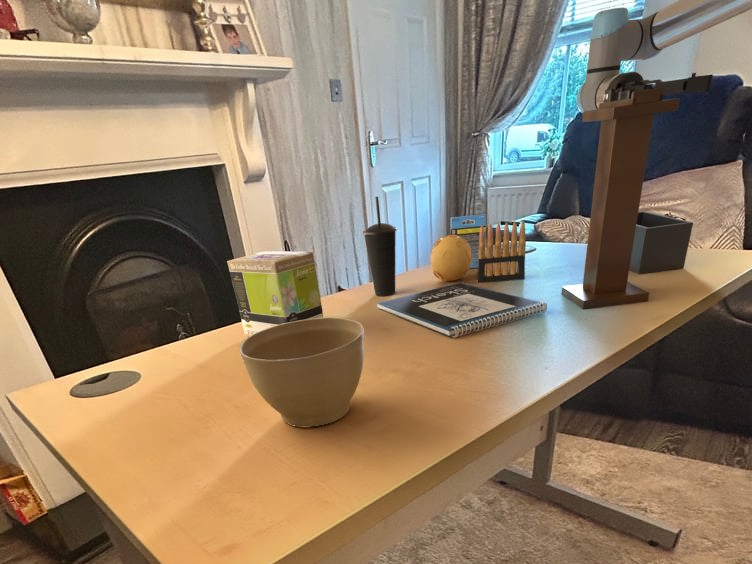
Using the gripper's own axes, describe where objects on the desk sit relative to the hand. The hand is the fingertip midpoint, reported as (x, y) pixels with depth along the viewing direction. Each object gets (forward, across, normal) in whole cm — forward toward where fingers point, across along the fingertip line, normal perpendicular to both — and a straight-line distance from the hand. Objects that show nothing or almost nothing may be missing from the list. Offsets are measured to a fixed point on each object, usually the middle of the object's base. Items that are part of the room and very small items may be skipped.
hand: (677, 88), depth 106 cm
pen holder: (+2, +3, -32) cm, 32 cm away
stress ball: (-8, +45, -32) cm, 56 cm away
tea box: (+15, +86, -31) cm, 93 cm away
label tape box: (-19, +37, -32) cm, 53 cm away
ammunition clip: (-1, +35, -32) cm, 47 cm away
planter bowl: (+57, +83, -30) cm, 105 cm away
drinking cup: (-6, +62, -31) cm, 70 cm away
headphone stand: (+25, +24, -31) cm, 46 cm away
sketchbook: (+18, +51, -31) cm, 62 cm away
